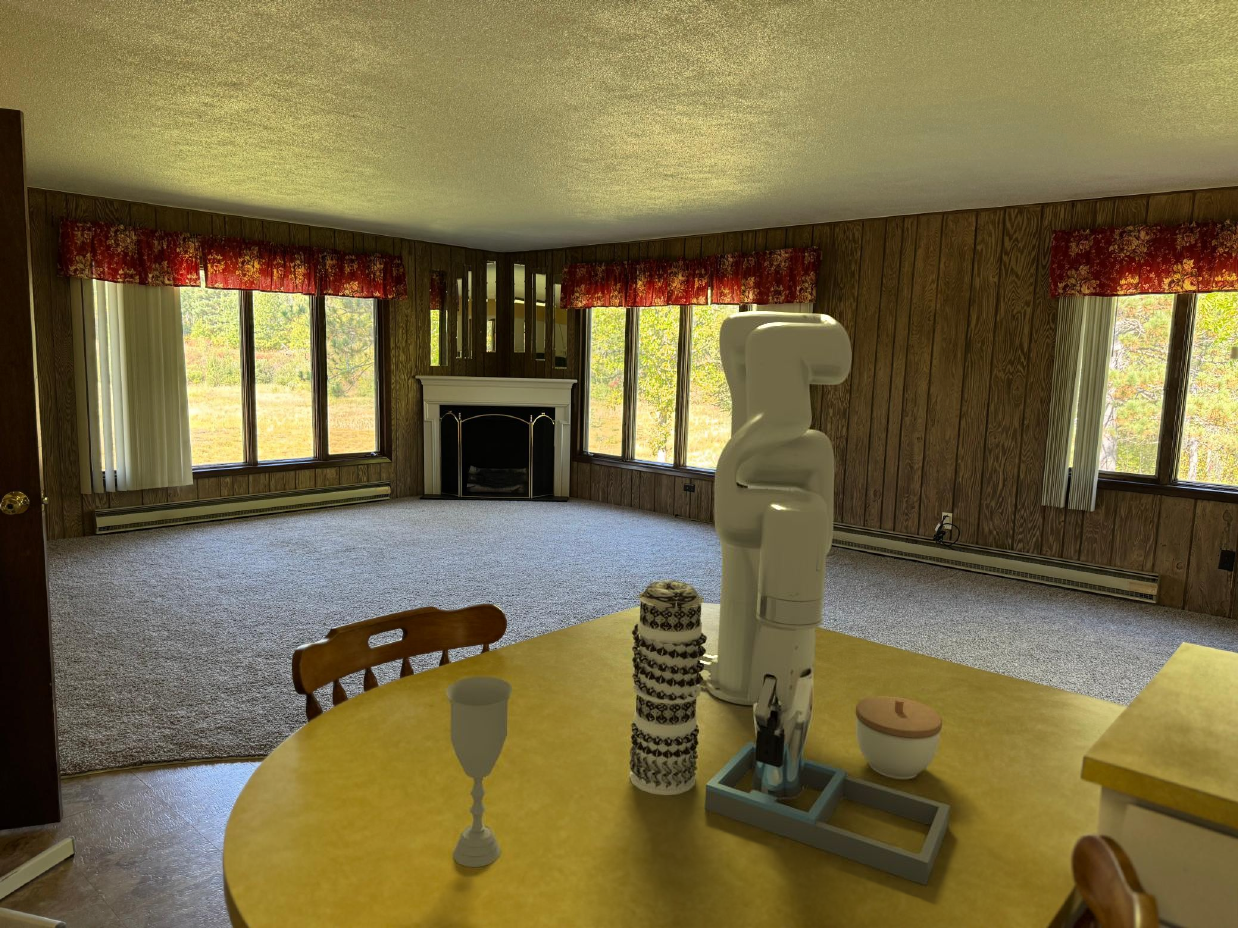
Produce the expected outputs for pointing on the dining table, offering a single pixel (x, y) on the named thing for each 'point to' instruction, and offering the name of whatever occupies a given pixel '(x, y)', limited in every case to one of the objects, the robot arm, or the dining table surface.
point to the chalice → (478, 755)
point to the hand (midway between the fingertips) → (779, 749)
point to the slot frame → (813, 824)
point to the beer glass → (788, 745)
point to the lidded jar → (897, 735)
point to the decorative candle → (666, 688)
